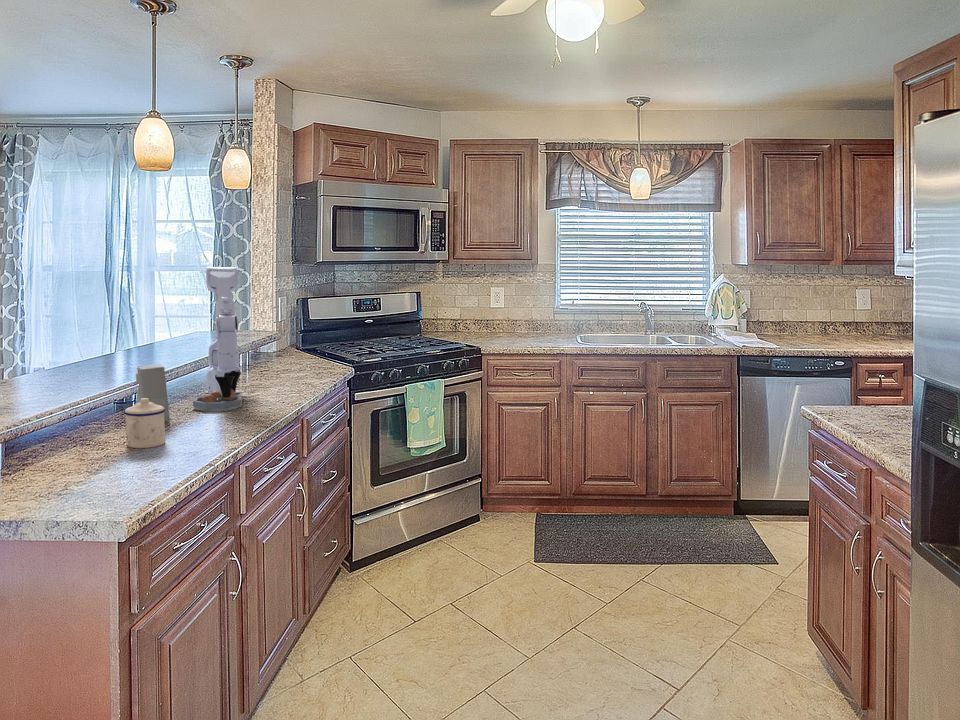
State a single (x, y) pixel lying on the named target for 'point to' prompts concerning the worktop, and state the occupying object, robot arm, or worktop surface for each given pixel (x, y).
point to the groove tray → (217, 404)
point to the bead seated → (208, 398)
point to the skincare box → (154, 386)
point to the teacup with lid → (145, 425)
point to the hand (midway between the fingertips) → (228, 395)
